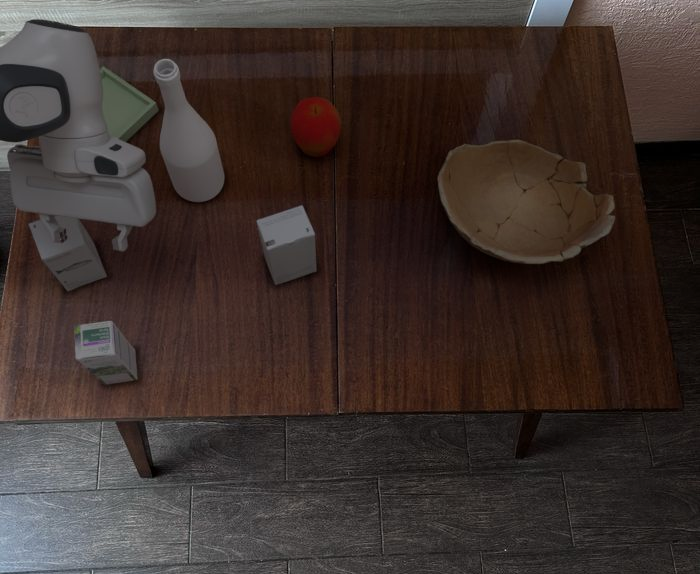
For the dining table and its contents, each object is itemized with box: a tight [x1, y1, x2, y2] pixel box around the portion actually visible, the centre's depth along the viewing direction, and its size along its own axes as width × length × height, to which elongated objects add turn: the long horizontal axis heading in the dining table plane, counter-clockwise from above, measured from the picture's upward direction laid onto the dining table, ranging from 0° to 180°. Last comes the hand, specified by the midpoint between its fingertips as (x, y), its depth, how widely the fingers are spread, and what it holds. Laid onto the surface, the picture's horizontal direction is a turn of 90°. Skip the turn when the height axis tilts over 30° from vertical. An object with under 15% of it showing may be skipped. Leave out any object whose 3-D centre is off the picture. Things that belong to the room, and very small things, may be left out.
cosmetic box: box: [256, 205, 318, 286], centre depth 117 cm, size 8×6×15 cm
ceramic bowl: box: [436, 139, 616, 265], centre depth 123 cm, size 30×27×15 cm
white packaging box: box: [28, 216, 108, 292], centre depth 116 cm, size 7×7×13 cm
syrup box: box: [73, 320, 138, 386], centre depth 110 cm, size 6×6×14 cm
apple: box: [290, 96, 342, 158], centre depth 127 cm, size 9×9×12 cm
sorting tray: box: [100, 65, 160, 143], centre depth 132 cm, size 14×14×2 cm
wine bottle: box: [152, 58, 225, 203], centre depth 115 cm, size 10×10×30 cm
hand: (90, 245), depth 101 cm, fingers open, 8 cm apart
